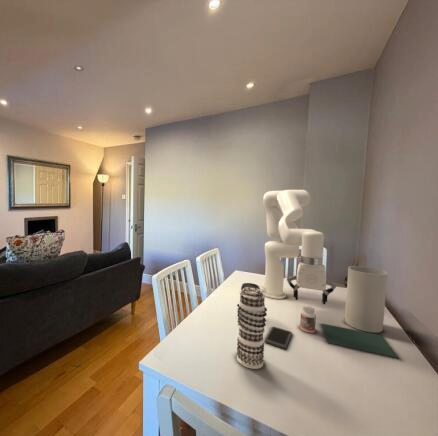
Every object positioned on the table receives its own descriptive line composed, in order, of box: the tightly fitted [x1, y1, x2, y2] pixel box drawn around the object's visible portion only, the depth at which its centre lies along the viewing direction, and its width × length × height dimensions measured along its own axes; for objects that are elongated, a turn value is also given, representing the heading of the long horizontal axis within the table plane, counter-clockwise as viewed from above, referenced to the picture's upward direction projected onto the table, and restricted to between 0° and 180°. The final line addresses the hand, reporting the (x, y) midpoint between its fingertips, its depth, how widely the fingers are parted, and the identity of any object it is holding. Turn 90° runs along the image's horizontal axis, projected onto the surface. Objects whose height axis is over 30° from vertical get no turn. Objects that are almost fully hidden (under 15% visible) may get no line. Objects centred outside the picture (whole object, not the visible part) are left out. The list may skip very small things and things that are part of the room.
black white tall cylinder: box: [236, 287, 268, 370], centre depth 83 cm, size 9×9×25 cm
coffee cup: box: [240, 282, 260, 291], centre depth 115 cm, size 8×8×15 cm
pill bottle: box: [299, 305, 317, 333], centre depth 104 cm, size 5×5×10 cm
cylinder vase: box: [344, 265, 388, 334], centre depth 106 cm, size 12×12×25 cm
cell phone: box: [264, 326, 293, 350], centre depth 98 cm, size 7×14×1 cm, turn 141°
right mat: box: [320, 323, 400, 360], centre depth 97 cm, size 20×16×1 cm
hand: (309, 301), depth 103 cm, fingers open, 9 cm apart
